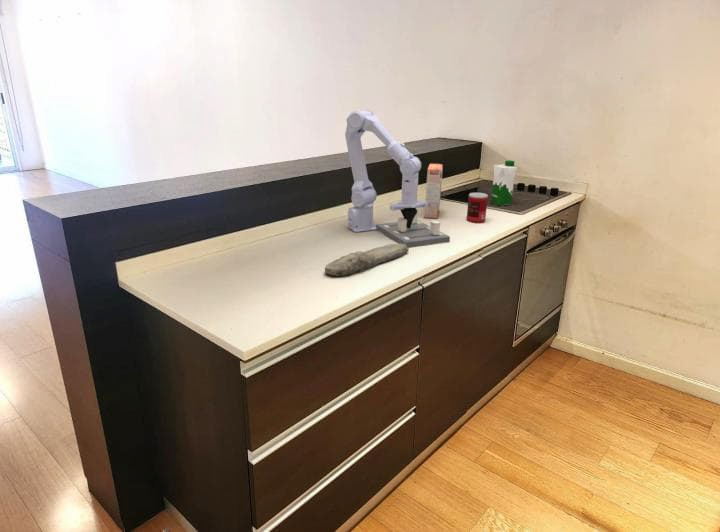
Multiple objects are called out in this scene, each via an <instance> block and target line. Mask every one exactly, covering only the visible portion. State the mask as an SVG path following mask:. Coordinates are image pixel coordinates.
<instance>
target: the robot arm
mask: <svg viewBox="0 0 720 532" xmlns="http://www.w3.org/2000/svg"><path fill="white" fill-rule="evenodd" d="M345 120H346V128H345V132H344V134H345V135H344V136H345V143H346V147H347V152H348V158H349V162H350V167H351V172H352V177H353V182H354V183H353V184H352V187H351V202H352V204H353V206H352V207H349V208H348V211H347V228H348V229H350V230H351V231H352V232H353V233H358V232H368V231H369V232H370V231H375V230H376V231H378V230H377V228H376V226H374V202H375V201H376V200H377V191H376V190H375V188H374V186H373V182H371V181H370V180H369V176H368V170H367V165H366V160H365V155H364V148H363V145H362V140H361V139H362V137H363V135H364V134H365V132H370V133H371V132H372V133H373V134H374V135H375V136H376V137H377V138H378V139H379V140H380V141H381V142H382V143H383V144H384V145H385V146H386V148H387V153H388V154H389V156H390V157H391V158H392V160H394V162H396V164H398V166H399V171H400V172H401V175H402V179H401V200H400V201H401V202H397V203H392V204H390V205H389V210H390V211H392V212H395V211H400V213H401V214H402V218H405V219H407V225H406V228H410V227H411V224H412V221H413V219H414V217H415V215H416V213H417V212H418V208H424V209H425V208H426V207H427V203H428V202H426V201H425V200H423V201H422V200H421V201H418V193H419V192H418V191H419V190H418V189H419V172H421V171H420V170H421V169H422V161H421V160H420V158H419V157H417V156H414V154H413V153H410V152H409V150H408V149H407V148H406V147H405V143H404V142H401V141H400V140H399V141H398V140H395V139H394V138H393V137H392V135H391V134H390V133H389V132H388V130H387V129H386V128H385V126H384V125H383V124H382V122H380V119H379V117H378V116H377V115H375V114H374V112H373V111H372V110H370V109H364V110H354V111H352V112H350V114H349V115H348V117H347V118H346V119H345Z"/></svg>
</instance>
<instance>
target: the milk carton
mask: <svg viewBox="0 0 720 532" xmlns="http://www.w3.org/2000/svg"><path fill="white" fill-rule="evenodd" d="M517 171H518V166H516V165H515V161H514V160H505V161H504V163H503V164H494V165H493V180H492V191H491V199H490V204H492V203H494V204H497V205H504V204H512V205H513V192H514V186H515V175H516V174H517ZM494 204H493V205H494Z"/></svg>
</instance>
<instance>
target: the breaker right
mask: <svg viewBox="0 0 720 532" xmlns="http://www.w3.org/2000/svg"><path fill="white" fill-rule="evenodd" d="M440 226H441V222H439V221H437V220H431V221H430V233H431V234H433V235H439V231H440V229H441V228H440Z"/></svg>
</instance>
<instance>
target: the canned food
mask: <svg viewBox="0 0 720 532" xmlns="http://www.w3.org/2000/svg"><path fill="white" fill-rule="evenodd" d="M488 198H489V196H488V194H486V193H484V192H470V193H469V194H468V199H467V201H468V202H467V212H466V221H467V222H470V223H472V224H473V223H474V224H483V223H484V222H485V221H486V218H487V208H488V200H489V199H488Z"/></svg>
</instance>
